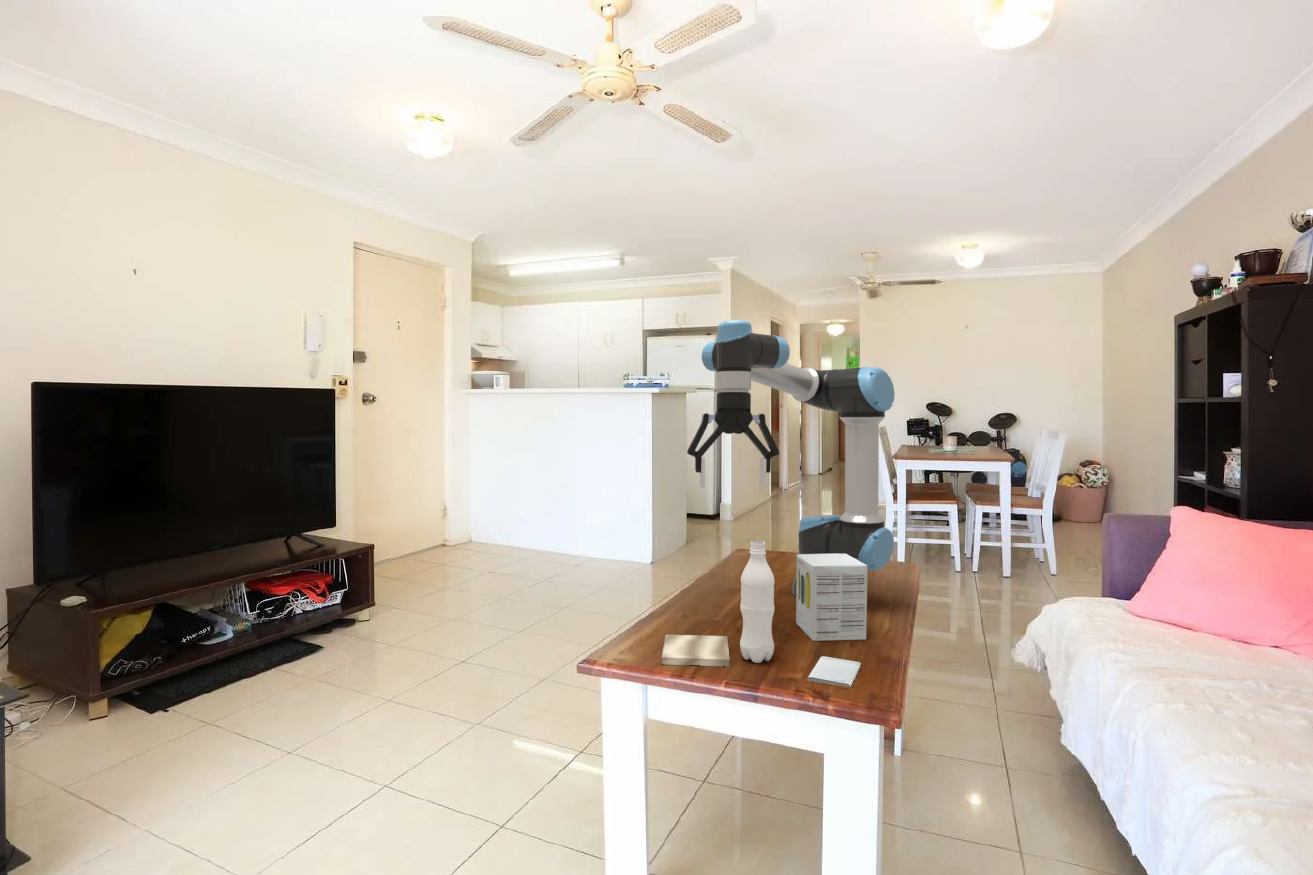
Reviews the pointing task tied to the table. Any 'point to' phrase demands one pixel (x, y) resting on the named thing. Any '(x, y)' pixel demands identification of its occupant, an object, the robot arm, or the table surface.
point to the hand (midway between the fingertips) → (732, 487)
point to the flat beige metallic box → (696, 650)
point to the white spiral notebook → (834, 671)
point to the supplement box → (831, 596)
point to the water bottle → (757, 606)
